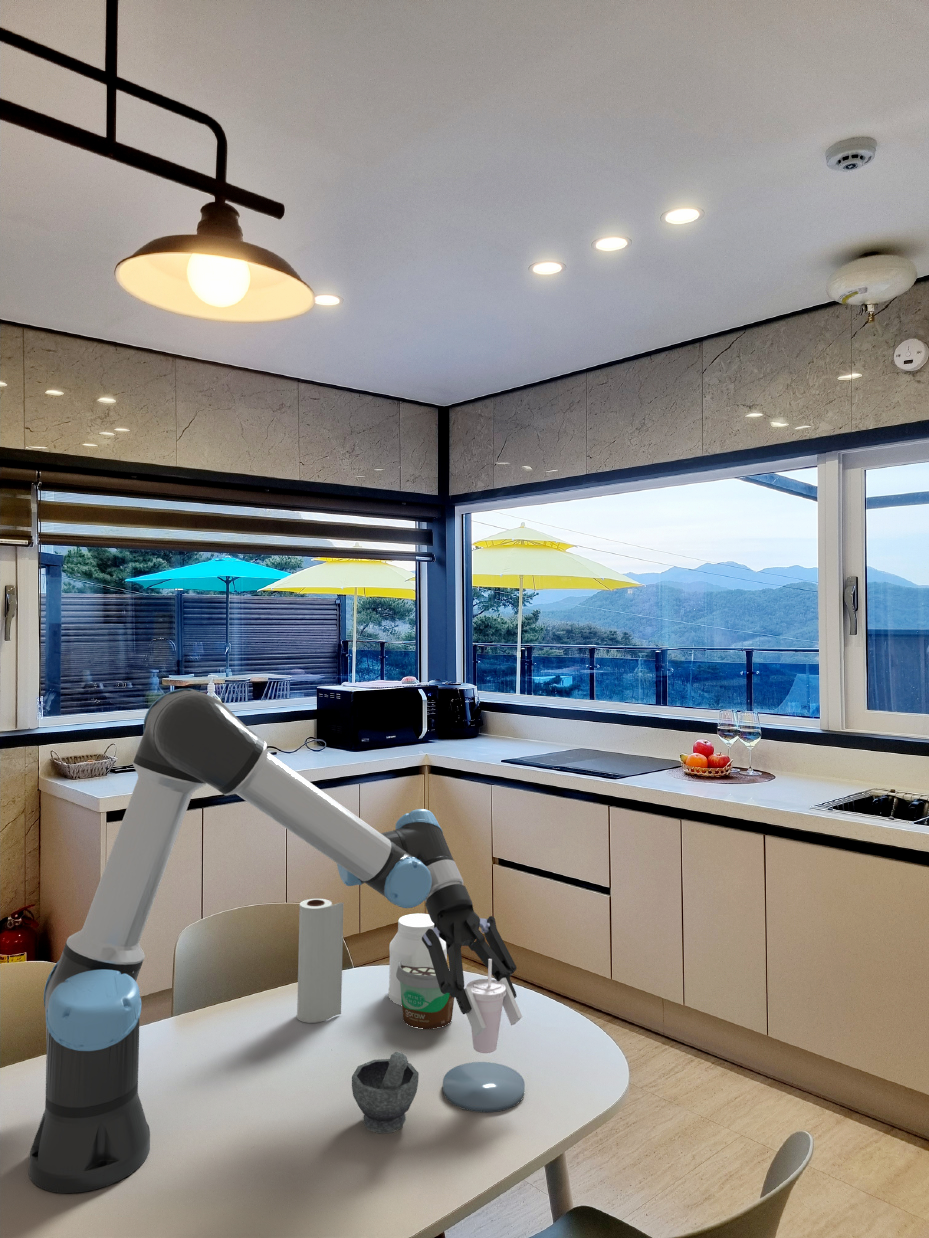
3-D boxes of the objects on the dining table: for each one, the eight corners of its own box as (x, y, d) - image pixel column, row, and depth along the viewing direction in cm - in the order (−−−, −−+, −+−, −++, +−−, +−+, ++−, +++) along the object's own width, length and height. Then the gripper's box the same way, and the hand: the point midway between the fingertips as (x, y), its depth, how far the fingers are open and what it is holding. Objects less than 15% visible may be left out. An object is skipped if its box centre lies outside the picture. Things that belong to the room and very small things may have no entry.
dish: (518, 1117, 131) (518, 1108, 131) (434, 1106, 134) (434, 1098, 134) (529, 1074, 144) (529, 1066, 144) (452, 1064, 146) (452, 1057, 146)
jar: (435, 982, 180) (436, 909, 181) (453, 1000, 172) (455, 924, 172) (382, 990, 176) (383, 915, 176) (398, 1009, 167) (399, 931, 167)
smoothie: (505, 1057, 136) (507, 967, 136) (464, 1056, 136) (466, 966, 136) (504, 1038, 142) (506, 952, 142) (465, 1037, 142) (466, 951, 142)
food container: (385, 1026, 160) (386, 971, 160) (397, 1012, 166) (398, 959, 166) (448, 1036, 156) (450, 980, 157) (459, 1022, 162) (460, 968, 162)
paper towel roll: (290, 1019, 162) (292, 904, 162) (309, 1007, 167) (311, 895, 168) (322, 1027, 159) (325, 910, 159) (341, 1014, 164) (343, 900, 165)
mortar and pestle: (343, 1111, 132) (345, 1031, 132) (401, 1097, 136) (402, 1020, 136) (369, 1152, 121) (370, 1065, 122) (430, 1136, 126) (432, 1052, 126)
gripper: (481, 896, 157) (536, 1022, 143) (387, 914, 146) (437, 1052, 133) (499, 873, 153) (557, 1001, 139) (403, 890, 142) (456, 1030, 128)
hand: (498, 1026), depth 136 cm, fingers closed on smoothie, 6 cm apart
